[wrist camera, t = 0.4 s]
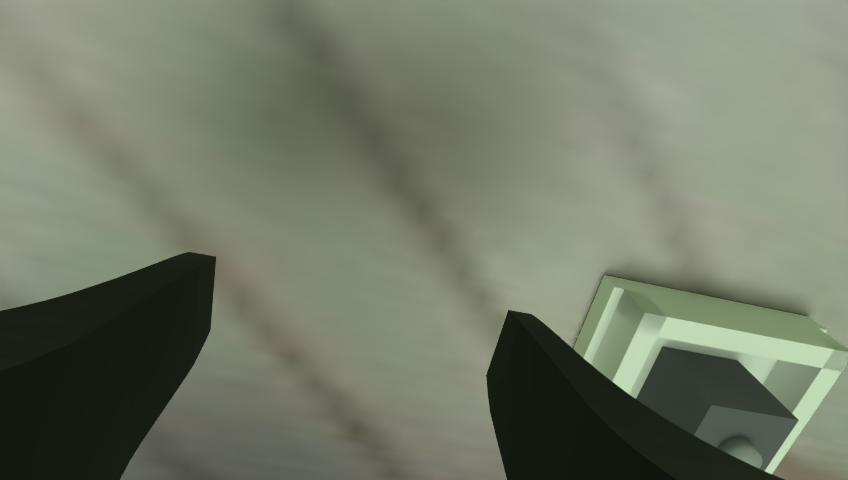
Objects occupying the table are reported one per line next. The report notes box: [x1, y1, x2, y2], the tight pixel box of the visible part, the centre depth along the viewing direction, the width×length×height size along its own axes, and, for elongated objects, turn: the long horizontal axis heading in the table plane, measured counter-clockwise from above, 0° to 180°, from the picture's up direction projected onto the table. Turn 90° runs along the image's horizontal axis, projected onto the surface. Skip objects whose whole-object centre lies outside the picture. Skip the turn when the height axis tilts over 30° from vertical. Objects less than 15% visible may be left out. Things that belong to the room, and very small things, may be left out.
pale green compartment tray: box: [573, 275, 848, 474], centre depth 25 cm, size 17×11×3 cm, turn 167°
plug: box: [636, 346, 799, 471], centre depth 22 cm, size 4×4×5 cm
